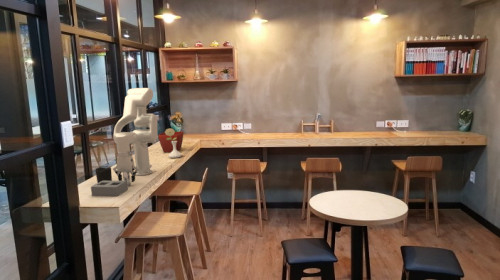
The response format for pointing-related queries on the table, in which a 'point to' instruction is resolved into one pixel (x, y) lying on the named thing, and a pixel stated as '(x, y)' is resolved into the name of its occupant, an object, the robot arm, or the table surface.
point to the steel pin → (127, 178)
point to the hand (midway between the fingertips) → (126, 181)
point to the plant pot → (167, 144)
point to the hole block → (109, 188)
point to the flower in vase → (174, 153)
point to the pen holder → (103, 174)
